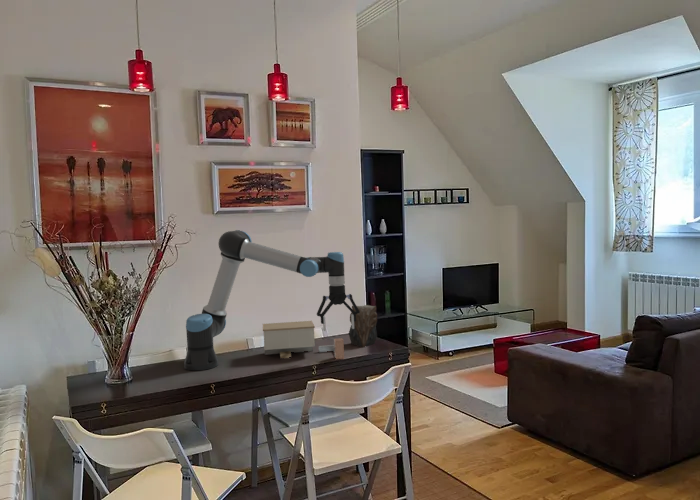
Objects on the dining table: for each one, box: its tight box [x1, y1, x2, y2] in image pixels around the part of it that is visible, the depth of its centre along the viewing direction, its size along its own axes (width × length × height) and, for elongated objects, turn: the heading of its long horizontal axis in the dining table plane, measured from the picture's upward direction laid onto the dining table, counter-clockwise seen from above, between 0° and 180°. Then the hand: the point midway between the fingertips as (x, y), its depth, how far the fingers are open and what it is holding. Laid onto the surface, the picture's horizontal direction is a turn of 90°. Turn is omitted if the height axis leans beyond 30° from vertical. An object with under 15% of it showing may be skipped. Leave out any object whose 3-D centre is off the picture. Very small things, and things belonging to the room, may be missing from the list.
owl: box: [348, 304, 378, 348], centre depth 284 cm, size 13×13×20 cm
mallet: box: [318, 337, 345, 360], centre depth 262 cm, size 10×17×9 cm, turn 9°
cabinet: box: [262, 320, 316, 355], centre depth 266 cm, size 25×15×15 cm, turn 99°
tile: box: [279, 351, 292, 359], centre depth 262 cm, size 5×5×2 cm
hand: (338, 329), depth 256 cm, fingers open, 13 cm apart
